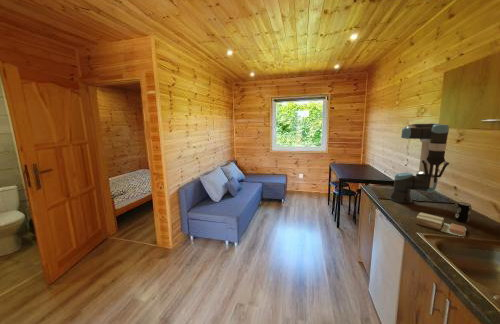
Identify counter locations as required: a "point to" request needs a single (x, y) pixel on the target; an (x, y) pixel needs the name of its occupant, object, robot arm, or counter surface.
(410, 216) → the counter surface
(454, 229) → the tile
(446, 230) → the mat
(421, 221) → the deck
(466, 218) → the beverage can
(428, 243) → the counter surface
